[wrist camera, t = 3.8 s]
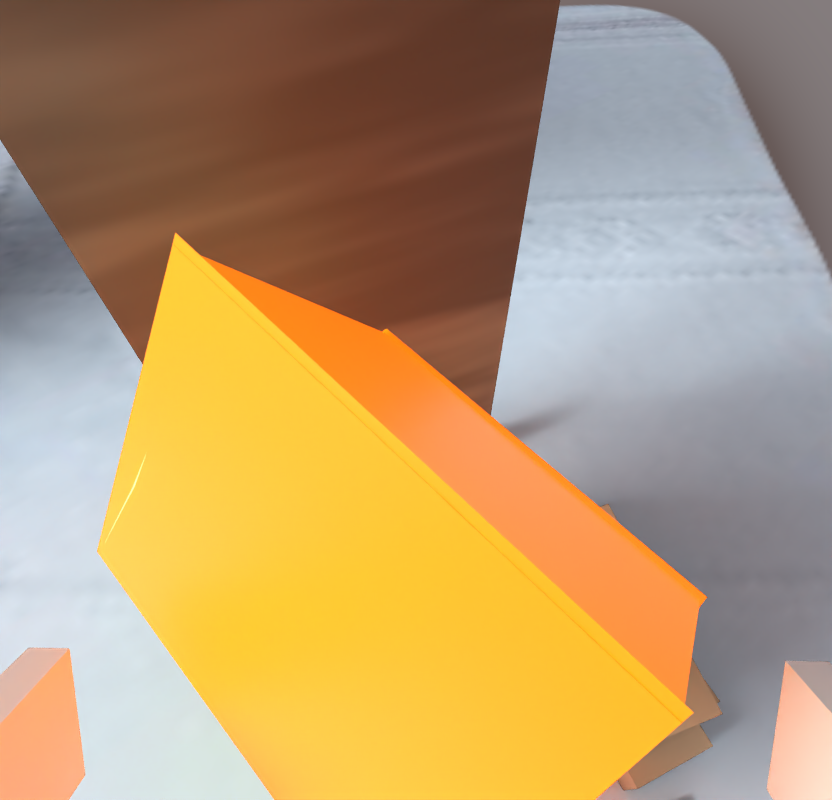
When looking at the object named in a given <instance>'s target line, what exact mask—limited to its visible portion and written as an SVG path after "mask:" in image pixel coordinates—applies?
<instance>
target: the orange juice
mask: <svg viewBox="0 0 832 800" xmlns="http://www.w3.org/2000/svg"><path fill="white" fill-rule="evenodd" d="M97 552H98V553H99V555H100V556H101V557H102V559H103V560H104V562H105V563H106V564H107V566H108V567H109V569H110V570H111V571H112V573H113V574H114V576H115V577H116V578H117V580H118V581H119V583H120V584H121V585H122V587H123V588H124V590H125V591H126V592H127V594H128V595H129V597H130V598H131V599H132V601H133V602H134V604H135V605H136V606H137V608H138V609H139V611H140V612H141V613H142V615H143V616H144V618H145V619H146V620H147V622H148V623H149V625H150V626H151V627H152V629H153V630H154V632H155V633H156V634H157V636H158V637H159V639H160V640H161V641H162V643H163V644H164V646H165V647H166V648H167V650H168V651H169V653H170V654H171V655H172V657H173V658H174V660H175V661H176V662H177V664H178V665H179V667H180V668H181V669H182V671H183V672H184V674H185V675H186V676H187V678H188V679H189V681H190V682H191V683H192V685H193V686H194V688H195V689H196V690H197V692H198V693H199V695H200V696H201V697H202V699H203V700H204V702H205V703H206V704H207V706H208V707H209V709H210V710H211V711H212V713H213V714H214V716H215V717H216V718H217V720H218V721H219V723H220V724H221V725H222V727H223V728H224V730H225V731H226V732H227V734H228V735H229V737H230V738H231V739H232V741H233V742H234V744H235V745H236V746H237V748H238V749H239V751H240V752H241V753H242V755H243V756H244V758H245V759H246V760H247V762H248V763H249V765H250V766H251V767H252V769H253V770H254V772H255V773H256V774H257V776H258V777H259V779H260V780H261V781H262V783H263V784H264V786H265V787H266V788H267V790H268V791H269V793H270V794H271V795H272V797H273V798H274V800H595V799H596V798H597V797H598V796H599V795H601V794H602V793H603V792H604V791H605V790H606V789H607V788H609V787H610V786H611V785H612V784H613V783H614V782H615V781H617V780H618V779H619V778H620V777H621V776H622V775H623V774H624V773H626V772H627V771H628V770H629V769H630V768H631V767H632V766H634V765H635V764H636V763H637V762H638V761H639V760H640V759H641V758H643V757H644V756H645V755H646V754H647V753H648V752H649V751H651V750H652V749H653V748H654V747H655V746H656V745H657V744H659V743H660V742H661V741H662V740H663V739H664V738H665V737H666V736H668V735H669V734H670V733H671V732H672V731H673V730H674V729H676V728H677V727H678V726H679V725H680V724H681V723H682V722H684V721H685V720H686V719H687V718H688V717H689V716H690V715H691V714H693V713H694V712H693V711H691V710H690V709H689V708H688V707H687V706H686V705H685V699H686V692H687V685H688V679H689V672H690V665H691V658H692V652H693V645H694V638H695V631H696V625H697V618H698V611H699V607H700V606H701V604H702V603H703V602H704V601H705V599H706V598H707V596H705V595H704V594H703V593H702V592H701V591H699V590H698V589H697V588H696V587H695V586H693V585H692V584H691V583H690V582H689V581H687V580H686V579H685V578H684V577H683V576H681V575H680V574H679V573H678V572H677V571H675V570H674V569H673V568H672V567H671V566H669V565H668V564H667V563H666V562H665V561H663V560H662V559H661V558H660V557H659V556H658V555H656V554H655V553H654V552H653V551H652V550H650V549H649V548H648V547H647V546H646V545H644V544H643V543H642V542H641V541H640V540H638V539H637V538H636V537H635V536H634V535H632V534H631V533H630V532H629V531H628V530H626V529H625V528H624V527H623V526H622V525H620V524H619V523H618V522H617V521H616V520H614V519H613V518H612V517H611V516H610V515H609V514H607V513H606V512H605V511H604V510H603V509H601V508H600V507H599V506H598V505H597V504H595V503H594V502H593V501H592V500H591V499H589V498H588V497H587V496H586V495H585V494H583V493H582V492H581V491H580V490H579V489H577V488H576V487H575V486H574V485H573V484H571V483H570V482H569V481H568V480H567V479H566V478H564V477H563V476H562V475H561V474H560V473H558V472H557V471H556V470H555V469H554V468H552V467H551V466H550V465H549V464H548V463H546V462H545V461H544V460H543V459H542V458H540V457H539V456H538V455H537V454H536V453H534V452H533V451H532V450H531V449H530V448H528V447H527V446H526V445H525V444H524V443H522V442H521V441H520V440H519V439H518V438H517V437H515V436H514V435H513V434H512V433H511V432H509V431H508V430H507V429H506V428H505V427H503V426H502V425H501V424H500V423H499V422H497V421H496V420H495V419H494V418H493V417H491V416H490V415H489V414H488V413H487V412H485V411H484V410H483V409H482V408H481V407H479V406H478V405H477V404H476V403H475V402H473V401H472V400H471V399H470V398H469V397H468V396H466V395H465V394H464V393H463V392H462V391H460V390H459V389H458V388H457V387H456V386H454V385H453V384H452V383H451V382H450V381H448V380H447V379H446V378H445V377H444V376H442V375H441V374H440V373H439V372H438V371H436V370H435V369H434V368H433V367H432V366H430V365H429V364H428V363H427V362H426V361H424V360H423V359H422V358H421V357H420V356H419V355H417V354H416V353H415V352H414V351H413V350H411V349H410V348H409V347H408V346H407V345H405V344H404V343H403V342H402V341H401V340H399V339H398V338H397V337H396V336H395V335H393V334H392V333H391V332H390V331H389V330H387V329H385V330H384V331H382V332H381V331H379V330H377V329H374V328H372V327H369V326H367V325H365V324H362V323H360V322H358V321H355V320H353V319H350V318H348V317H346V316H343V315H341V314H339V313H336V312H334V311H331V310H329V309H327V308H324V307H322V306H320V305H317V304H315V303H312V302H310V301H308V300H305V299H303V298H301V297H298V296H296V295H293V294H291V293H289V292H286V291H284V290H281V289H279V288H277V287H274V286H272V285H270V284H267V283H265V282H262V281H260V280H258V279H255V278H253V277H251V276H248V275H246V274H243V273H241V272H239V271H236V270H234V269H232V268H229V267H227V266H224V265H222V264H220V263H217V262H215V261H213V260H210V259H208V258H205V257H203V256H201V255H199V254H198V253H197V252H196V251H195V250H194V249H192V248H191V247H190V246H189V245H188V244H187V243H186V242H185V241H184V240H183V239H182V238H181V237H180V236H178V235H177V234H176V233H175V236H174V241H173V245H172V249H171V253H170V257H169V261H168V265H167V269H166V273H165V277H164V281H163V285H162V289H161V293H160V297H159V302H158V306H157V310H156V314H155V318H154V322H153V326H152V330H151V334H150V338H149V342H148V346H147V350H146V354H145V358H144V363H143V367H142V371H141V375H140V379H139V383H138V387H137V391H136V395H135V399H134V403H133V407H132V411H131V415H130V419H129V424H128V428H127V432H126V436H125V440H124V444H123V448H122V452H121V456H120V460H119V464H118V468H117V472H116V476H115V480H114V485H113V489H112V493H111V497H110V501H109V505H108V509H107V513H106V517H105V521H104V525H103V529H102V533H101V537H100V541H99V546H98V550H97Z"/></svg>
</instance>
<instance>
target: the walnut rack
mask: <svg viewBox="0 0 832 800" xmlns="http://www.w3.org/2000/svg"><path fill="white" fill-rule="evenodd" d="M559 4H560V0H0V140H1V142H2V143H3V145H4V146H5V148H6V149H7V151H8V153H9V154H10V156H11V157H12V159H13V160H14V162H15V164H16V165H17V167H18V168H19V170H20V171H21V173H22V175H23V176H24V178H25V179H26V181H27V183H28V184H29V186H30V187H31V189H32V190H33V192H34V194H35V195H36V197H37V198H38V200H39V201H40V203H41V205H42V206H43V208H44V209H45V211H46V212H47V214H48V216H49V217H50V219H51V220H52V222H53V224H54V225H55V227H56V228H57V230H58V231H59V233H60V235H61V236H62V238H63V239H64V241H65V242H66V244H67V246H68V247H69V249H70V250H71V252H72V254H73V255H74V257H75V258H76V260H77V261H78V263H79V265H80V266H81V268H82V269H83V271H84V272H85V274H86V276H87V277H88V279H89V280H90V282H91V283H92V285H93V287H94V288H95V290H96V291H97V293H98V295H99V296H100V298H101V299H102V301H103V302H104V304H105V306H106V307H107V309H108V310H109V312H110V313H111V315H112V317H113V318H114V320H115V321H116V323H117V324H118V326H119V328H120V329H121V331H122V332H123V334H124V336H125V337H126V339H127V340H128V342H129V343H130V345H131V347H132V348H133V350H134V351H135V353H136V354H137V356H138V358H139V359H140V361H141V362H142V364H143V363H144V358H145V354H146V350H147V346H148V342H149V338H150V334H151V330H152V326H153V322H154V318H155V314H156V310H157V306H158V302H159V297H160V293H161V289H162V285H163V281H164V277H165V273H166V269H167V265H168V261H169V257H170V253H171V249H172V245H173V241H174V236H175V233H176V234H177V235H178V236H180V237H181V238H182V239H183V240H184V241H185V242H186V243H187V244H188V245H189V246H190V247H191V248H192V249H194V250H195V251H196V252H197V253H198V254H199V255H201V256H203V257H205V258H208V259H210V260H213V261H215V262H217V263H220V264H222V265H224V266H227V267H229V268H232V269H234V270H236V271H239V272H241V273H243V274H246V275H248V276H251V277H253V278H255V279H258V280H260V281H262V282H265V283H267V284H270V285H272V286H274V287H277V288H279V289H281V290H284V291H286V292H289V293H291V294H293V295H296V296H298V297H301V298H303V299H305V300H308V301H310V302H312V303H315V304H317V305H320V306H322V307H324V308H327V309H329V310H331V311H334V312H336V313H339V314H341V315H343V316H346V317H348V318H350V319H353V320H355V321H358V322H360V323H362V324H365V325H367V326H369V327H372V328H374V329H377V330H379V331H381V332H382V331H384V330H385V329H387V330H389V331H390V332H391V333H392V334H393V335H395V336H396V337H397V338H398V339H399V340H401V341H402V342H403V343H404V344H405V345H407V346H408V347H409V348H410V349H411V350H413V351H414V352H415V353H416V354H417V355H419V356H420V357H421V358H422V359H423V360H424V361H426V362H427V363H428V364H429V365H430V366H432V367H433V368H434V369H435V370H436V371H438V372H439V373H440V374H441V375H442V376H444V377H445V378H446V379H447V380H448V381H450V382H451V383H452V384H453V385H454V386H456V387H457V388H458V389H459V390H460V391H462V392H463V393H464V394H465V395H466V396H468V397H469V398H470V399H471V400H472V401H473V402H475V403H476V404H477V405H478V406H479V407H481V408H482V409H483V410H484V411H485V412H487V413H488V414H489V415H490V416H491V410H492V404H493V398H494V392H495V386H496V380H497V374H498V368H499V362H500V356H501V350H502V344H503V338H504V332H505V326H506V320H507V314H508V308H509V302H510V296H511V290H512V284H513V279H514V273H515V267H516V261H517V255H518V249H519V243H520V237H521V231H522V225H523V219H524V213H525V207H526V201H527V195H528V189H529V183H530V177H531V171H532V165H533V159H534V153H535V147H536V141H537V135H538V129H539V123H540V118H541V112H542V106H543V100H544V94H545V88H546V82H547V76H548V70H549V64H550V58H551V52H552V46H553V40H554V34H555V28H556V22H557V16H558V10H559ZM600 508H601V509H603V510H604V511H605V512H606V513H607V514H609V515H610V516H611V517H612V518H613V519H614V520H616V521H617V519H616V517H615V515H614V513H613V512H612V510H611V508H610V506H609V504H606V505H603V506H600ZM617 522H618V521H617ZM718 702H720V701H719V699H718V698H717V696H716V695H715V694H714V692H713V691H712V689H711V688H710V687H709V685H708V684H707V683H706V681H705V680H704V678H703V677H702V675H701V673H700V671H699V669H698V668H697V666H696V664H695V662H694V660H693V658H691V665H690V672H689V679H688V685H687V692H686V699H685V705H686V706H687V707H688V708H689V709H690V710H691V711H693V712H694V713H693V714H691V715H690V716H689V717H688V718H687V719H686V720H685V721H684V722H682V723H681V724H680V725H679V726H678V727H677V728H676V729H674V730H673V731H672V732H671V733H670V734H669V735H668V736H666V737H665V738H664V739H663V740H662V741H661V742H660V743H659V744H657V745H656V746H655V747H654V748H653V749H652V750H651V751H649V752H648V753H647V754H646V755H645V756H644V757H643V758H641V759H640V760H639V761H638V762H637V763H636V764H635V765H634V766H632V767H631V768H630V769H629V770H628V771H627V772H626V773H624V774H623V775H622V776H621V777H620V778H619V779H618V781H619V783H620V785H621V787H622V789H623V790H631V789H638V788H640V787H642V786H644V785H645V784H647V783H649V782H651V781H652V780H654V779H656V778H658V777H659V776H661V775H663V774H665V773H666V772H668V771H670V770H672V769H674V768H675V767H677V766H679V765H681V764H682V763H684V762H686V761H688V760H689V759H691V758H693V757H695V756H696V755H698V754H700V753H702V752H703V751H705V750H707V749H709V748H710V747H712V746H713V745H712V744H711V742H710V740H709V739H708V737H707V736H706V734H705V732H704V731H703V729H702V727H701V726H700V723H702V722H705V721H707V720H710V719H712V718H714V717H717V716H719V715H721V714H722V712H721V710H720V708H719V706H718V704H717V703H718Z"/></svg>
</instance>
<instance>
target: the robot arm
mask: <svg viewBox="0 0 832 800" xmlns="http://www.w3.org/2000/svg"><path fill="white" fill-rule="evenodd" d="M84 776H85V769H84V761H83V753H82V745H81V737H80V729H79V721H78V713H77V705H76V698H75V690H74V682H73V674H72V666H71V658H70V650H69V648H28V649H27V650H26V651H25V652H24V653H23V654H22V655H21V656H20V657H19V658H18V659H17V660H15V661H14V662H13V663H12V664H11V665H10V666H9V667H8V668H7V669H6V670H5V671H4V672H3V673H2V674H1V675H0V800H69V799H70V797H71V796H72V794H73V793H74V791H75V790H76V788H77V786H78V785H79V783H80V782H81V780H82V779H83V777H84ZM767 790H768V792H769V793H770V795H771V797H772V798H773V800H832V665H831V664H830V663H829V662H826V661H785V668H784V675H783V682H782V689H781V696H780V702H779V709H778V716H777V723H776V730H775V737H774V743H773V750H772V757H771V764H770V771H769V778H768V784H767Z"/></svg>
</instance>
